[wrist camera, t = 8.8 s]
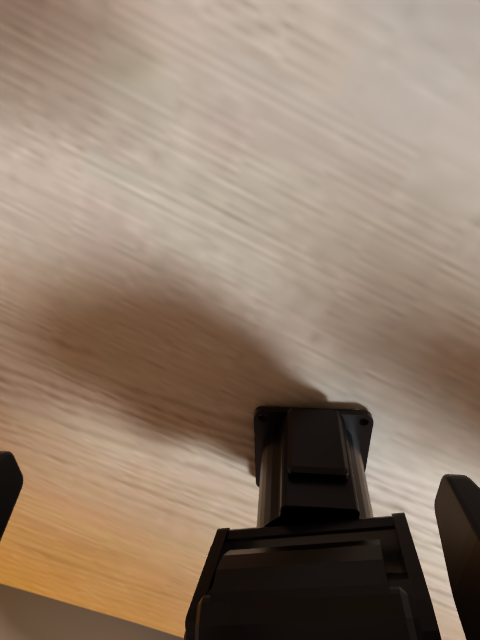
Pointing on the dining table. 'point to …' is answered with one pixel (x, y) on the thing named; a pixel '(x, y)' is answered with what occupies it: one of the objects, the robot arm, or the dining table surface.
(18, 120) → the dining table surface
